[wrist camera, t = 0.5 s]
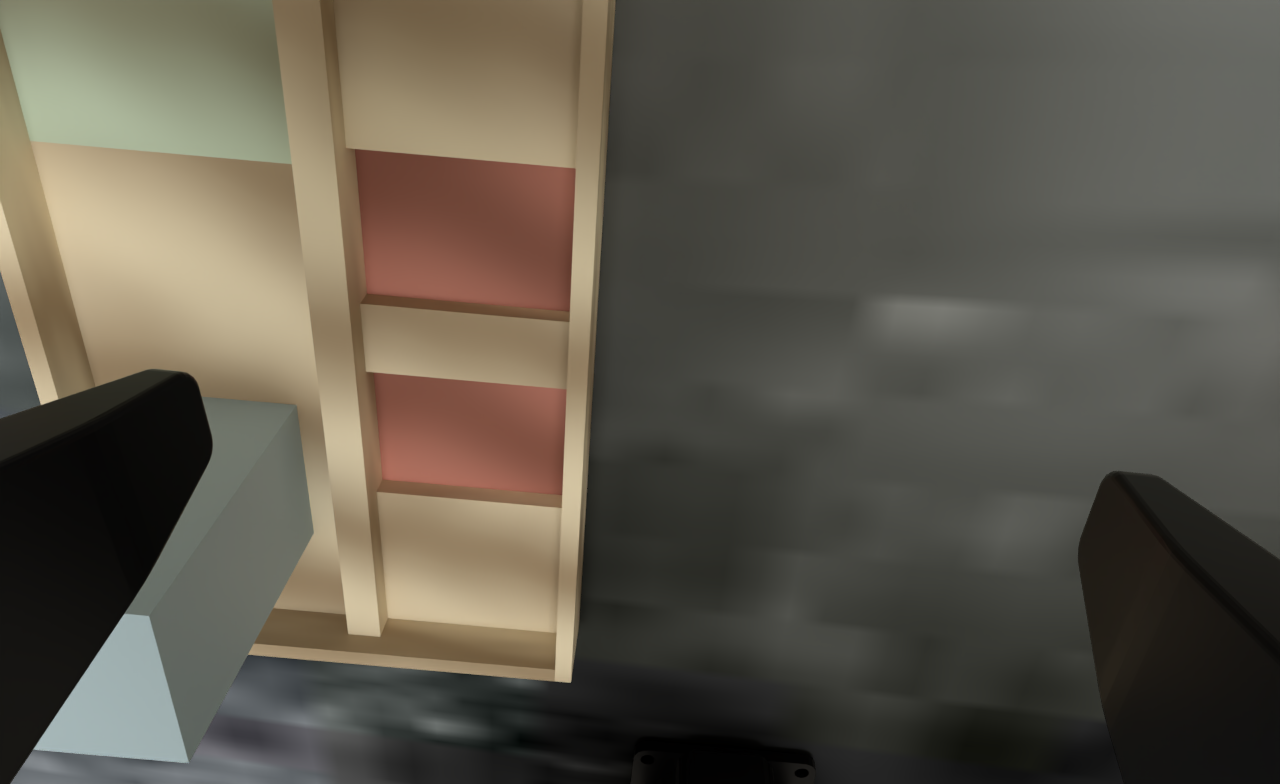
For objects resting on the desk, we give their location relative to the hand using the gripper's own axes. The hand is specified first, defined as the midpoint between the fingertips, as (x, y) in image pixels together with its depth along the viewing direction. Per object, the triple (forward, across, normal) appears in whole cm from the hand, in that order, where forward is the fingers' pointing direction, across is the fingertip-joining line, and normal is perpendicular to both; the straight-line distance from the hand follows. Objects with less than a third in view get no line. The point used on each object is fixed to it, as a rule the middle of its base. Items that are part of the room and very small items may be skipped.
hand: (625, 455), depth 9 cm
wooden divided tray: (+13, +10, +6) cm, 18 cm away
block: (+12, +13, +11) cm, 21 cm away
